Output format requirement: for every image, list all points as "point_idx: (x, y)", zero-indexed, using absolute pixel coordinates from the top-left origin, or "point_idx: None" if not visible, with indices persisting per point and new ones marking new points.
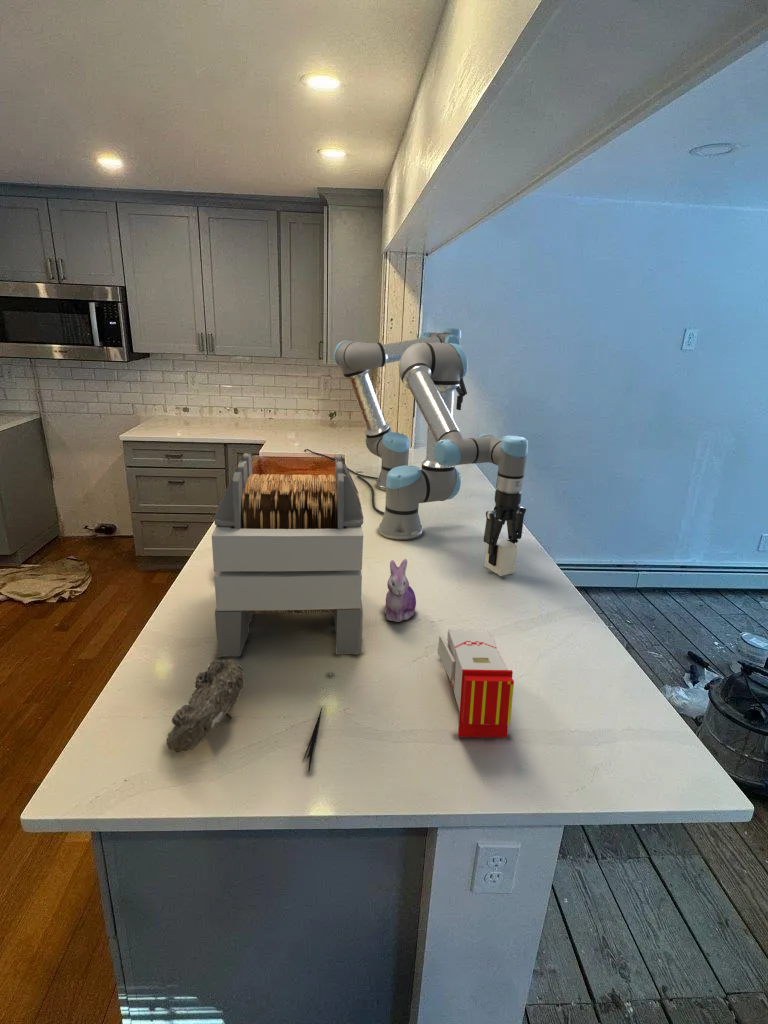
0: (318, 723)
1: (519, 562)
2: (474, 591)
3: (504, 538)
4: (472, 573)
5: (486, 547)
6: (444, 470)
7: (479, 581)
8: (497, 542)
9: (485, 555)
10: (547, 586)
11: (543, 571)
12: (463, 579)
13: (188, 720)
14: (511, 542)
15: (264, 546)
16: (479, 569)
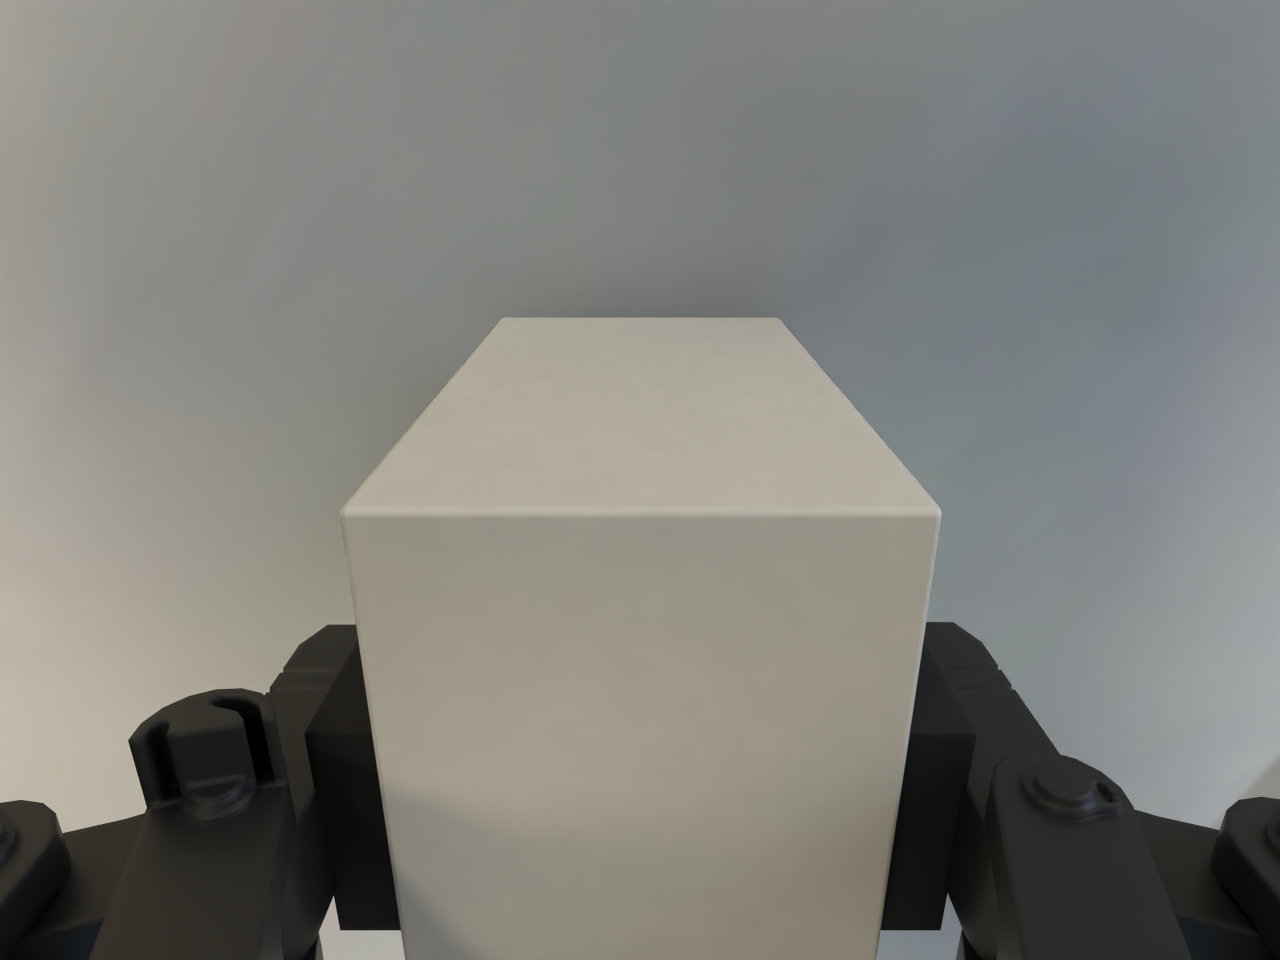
0: None
1: (1186, 344)
2: (59, 746)
3: (913, 687)
4: (259, 362)
5: (420, 419)
6: None
7: (238, 587)
8: (488, 827)
9: (463, 365)
10: (907, 931)
11: (1206, 683)
12: (45, 463)
13: None
14: (866, 945)
15: None
16: (435, 293)
